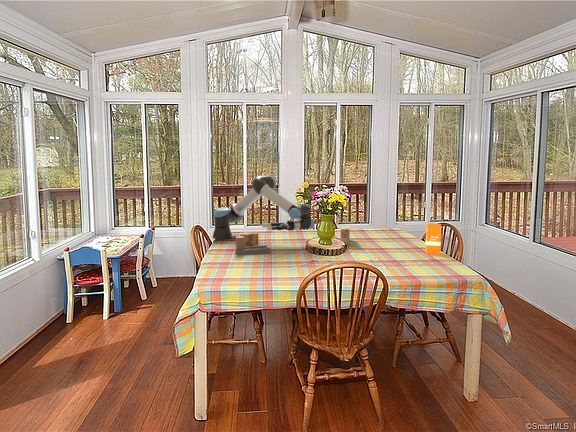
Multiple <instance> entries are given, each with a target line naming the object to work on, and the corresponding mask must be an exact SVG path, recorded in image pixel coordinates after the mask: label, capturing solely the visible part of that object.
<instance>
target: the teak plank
mask: <svg viewBox="0 0 576 432" xmlns="http://www.w3.org/2000/svg"><path fill="white" fill-rule="evenodd" d="M240 236H243V237H244V247H252V246H259V233H258V232H250V233H240Z"/></svg>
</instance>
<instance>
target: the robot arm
mask: <svg viewBox="0 0 576 432" xmlns="http://www.w3.org/2000/svg"><path fill="white" fill-rule="evenodd" d="M276 187H277V181H276V179H275V177H274V176H272V175H258V176H256V177H254V179H253V180H252V183H251V190H250V191H248V193H246V194H245V195H244V196H242V198H241V199H240V200H239V201H238V202H237V203H234V204H232V205H231V206H230V207H225V206H224V207H223V206H222V207H217V208H216V209H214V213H213V214H214V215H213V216H214V229H213V233H212V239H213V240H229V239H230V240H231V239H233V233H232V231H231V228H230V225H231V224H232V223H237V222H239V221H241V220H242V219H243V217H244V215H245V212H246V211H247V210H248V209H249V207H251V206H252V205H253V204H254V203H255V202H257V200H258V199H260V197H261V196H263V197H265V198H266V199H268V200H269V201H270V202H271V203H273V204H275V206H277V207H278V208H279V209H281V210H283V211H284V212H286V213H287V214H288V216H289V218H290V219H288V220H287V221H286V222H267V223H262V224H261V225H262V228H266V231H282V230H287V231H290V232H291V231H296V232H298V231H300V230H302V231H303V230H304V231H305V230H312V229H314V227H315V220H314V219H313V218H312V216H311V215H312V214H311V212H312V211H311V209H312V208H311V203H310V204H308V205H305V204H302V203H303V202H301V203H300V206H296V205H295V204H294V203H292V202H291V201H290V200H288V199H286V198H285V197H284V196H282V195H281V194H280V193H278V192H277V191H275V190H274V189H276Z"/></svg>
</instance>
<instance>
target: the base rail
mask: <svg viewBox="0 0 576 432" xmlns="http://www.w3.org/2000/svg"><path fill="white" fill-rule="evenodd" d="M270 248H271V247H268V245H258V246H252V247H244V237H243V236H241V235H240V236H235V248H234V249H235V254H236V255H237V256H244V255H245V256H246V255H257V254H259V255H260V254H270V253H271V249H270Z"/></svg>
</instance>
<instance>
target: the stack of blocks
mask: <svg viewBox="0 0 576 432" xmlns="http://www.w3.org/2000/svg"><path fill="white" fill-rule="evenodd" d="M350 236H351V235H350V226H349V225H348V226H346V225H344V226H343V225H342V226H340V242H341V241H342V242H344V243H345V244H346V245H347V246H348V247H349V246H350Z"/></svg>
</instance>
